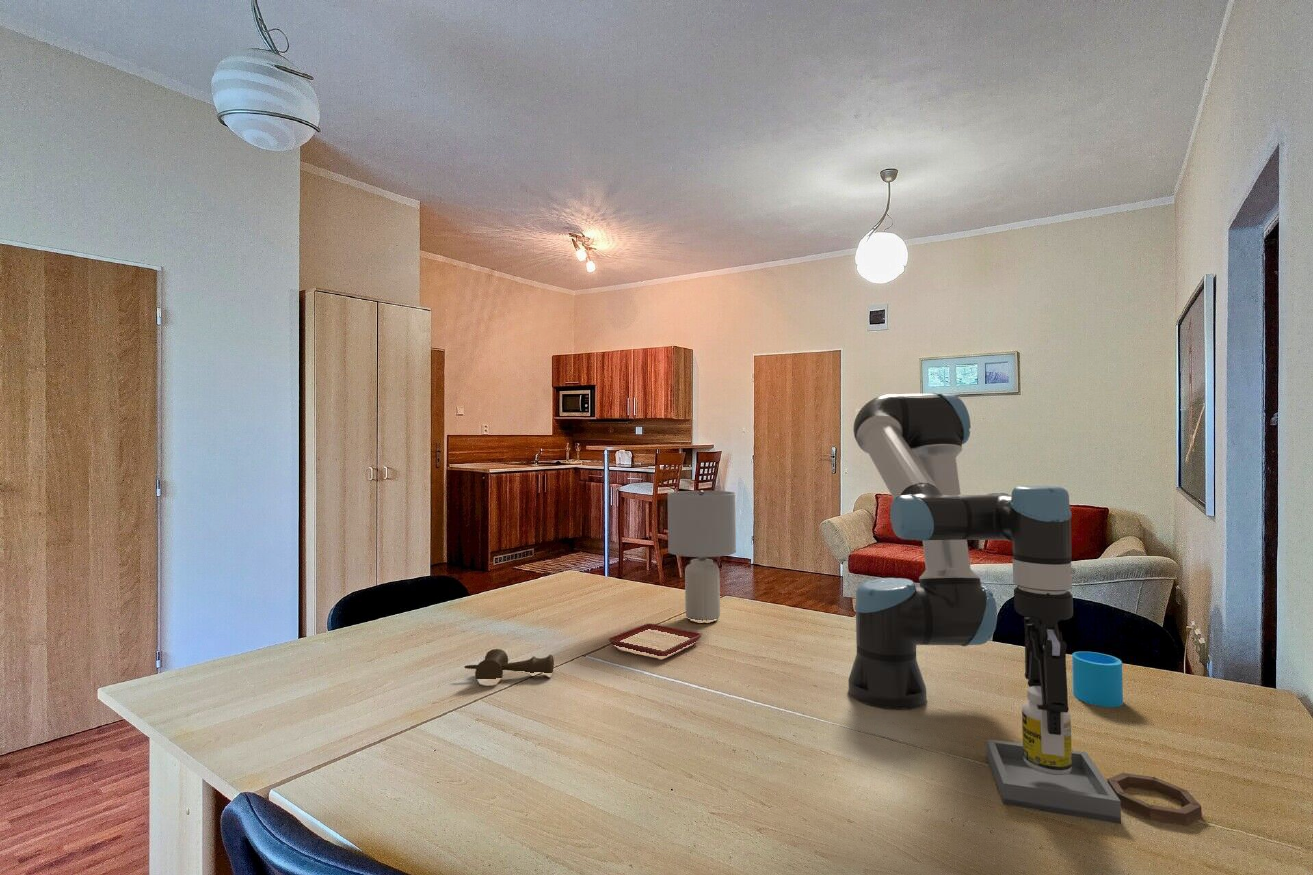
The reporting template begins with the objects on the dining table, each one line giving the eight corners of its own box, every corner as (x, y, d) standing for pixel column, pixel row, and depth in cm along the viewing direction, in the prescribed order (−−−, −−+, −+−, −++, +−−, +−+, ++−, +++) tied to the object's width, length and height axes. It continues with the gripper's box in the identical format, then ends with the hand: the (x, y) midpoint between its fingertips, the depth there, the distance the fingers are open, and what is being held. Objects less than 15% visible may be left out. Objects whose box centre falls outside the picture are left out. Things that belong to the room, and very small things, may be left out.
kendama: (551, 687, 133) (458, 688, 132) (555, 672, 143) (468, 673, 141) (551, 659, 134) (459, 660, 132) (555, 646, 143) (469, 647, 142)
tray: (1003, 804, 87) (1003, 783, 87) (986, 757, 100) (986, 738, 100) (1121, 823, 82) (1120, 801, 82) (1086, 771, 95) (1086, 752, 95)
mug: (1131, 709, 118) (1129, 666, 118) (1082, 704, 120) (1081, 663, 120) (1104, 685, 129) (1103, 647, 129) (1060, 682, 131) (1059, 644, 131)
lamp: (664, 628, 174) (662, 492, 175) (674, 609, 194) (672, 488, 195) (735, 630, 171) (733, 492, 171) (737, 611, 191) (736, 488, 192)
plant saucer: (648, 633, 170) (648, 622, 170) (703, 645, 160) (703, 632, 160) (606, 651, 156) (606, 638, 156) (664, 665, 145) (664, 651, 145)
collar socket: (1125, 815, 84) (1125, 804, 84) (1100, 779, 93) (1100, 769, 93) (1212, 829, 80) (1212, 817, 80) (1178, 791, 89) (1177, 780, 90)
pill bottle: (1013, 756, 94) (1011, 684, 94) (1051, 754, 94) (1049, 682, 95) (1042, 777, 88) (1040, 700, 88) (1082, 775, 88) (1080, 698, 88)
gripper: (1093, 605, 81) (1098, 780, 81) (1053, 577, 99) (1057, 719, 99) (1029, 601, 84) (1033, 770, 83) (1001, 574, 102) (1005, 713, 101)
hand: (1046, 742), depth 91 cm, fingers closed on pill bottle, 6 cm apart
